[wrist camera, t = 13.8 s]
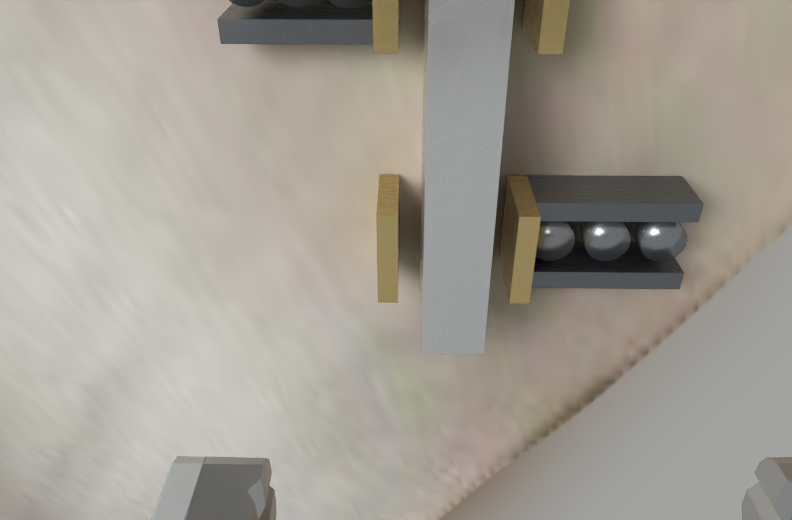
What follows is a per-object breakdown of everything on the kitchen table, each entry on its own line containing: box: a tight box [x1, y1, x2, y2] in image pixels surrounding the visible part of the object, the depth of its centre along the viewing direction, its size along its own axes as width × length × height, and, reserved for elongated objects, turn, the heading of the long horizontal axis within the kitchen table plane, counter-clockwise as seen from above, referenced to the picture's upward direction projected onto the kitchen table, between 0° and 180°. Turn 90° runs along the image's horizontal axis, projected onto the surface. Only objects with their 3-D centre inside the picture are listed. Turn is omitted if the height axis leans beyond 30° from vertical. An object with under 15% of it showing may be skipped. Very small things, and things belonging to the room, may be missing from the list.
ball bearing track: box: [217, 0, 703, 304], centre depth 25 cm, size 18×14×4 cm
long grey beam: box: [420, 0, 515, 354], centre depth 24 cm, size 3×17×5 cm, turn 0°
